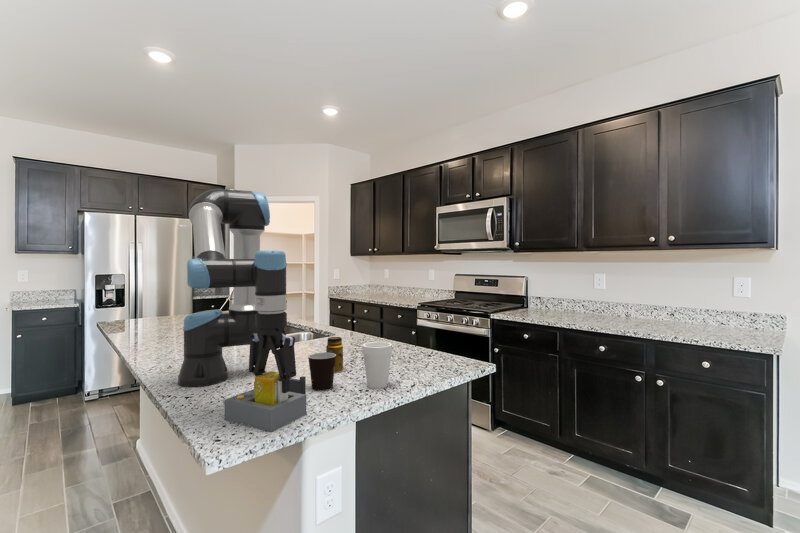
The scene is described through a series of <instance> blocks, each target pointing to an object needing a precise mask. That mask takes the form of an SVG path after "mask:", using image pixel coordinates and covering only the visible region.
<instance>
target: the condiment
mask: <svg viewBox="0 0 800 533" xmlns="http://www.w3.org/2000/svg"><path fill="white" fill-rule="evenodd" d="M342 339H343V338H342V337H341V336H330V337H328V338H327V339H326V342H327V345H326V352H325V353H334V354H336V360H335V370H334V374H335V373H337V374H338V373H342V372H346V371H348V369H346V368H344V346H343V343H342V342H343V341H342Z"/></svg>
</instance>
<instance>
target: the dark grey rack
mask: <svg viewBox="0 0 800 533" xmlns="http://www.w3.org/2000/svg"><path fill="white" fill-rule="evenodd" d="M306 378H307V377H306V376H303V375H302V376H299V379H297V378H293V377H292V378H290V387H289V388H290V390H289V392H294V393H300V394H305V395H307V393H306V392H307V391H306V390H307V389H306V388H307V387H306V386H307V385H306V380H307V379H306ZM253 389H255V380H254V381H253Z"/></svg>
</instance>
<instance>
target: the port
mask: <svg viewBox="0 0 800 533" xmlns="http://www.w3.org/2000/svg"><path fill="white" fill-rule="evenodd" d="M223 402H224V403H223V404H224V405H223V406H224V408H223V409H224V410H223V411H224V414H223V416H224V421H228V422H233V423H235V424H240V425H244V426H248V427H252V428H255V429H259V430H263V431H265V432H266V431H267V432H275V430H278V429H279V428H282V427H283V426H285V425H288V424H290V423H292V422H294V421H295V420H297V419H299V418H302V417H303V416H306V415H307V412H308V411H307V394H300V393H294V392H288V399H287V400H284V401H282V402H280V403H277V404H275V405H272V406H269V405H265V404H260V403H255V389H254V388H253V389H250V390H248V391H244V392H243V393H239V394H236V395H234V396H231V397H228V398H225V399H224V401H223Z"/></svg>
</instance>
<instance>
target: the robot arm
mask: <svg viewBox="0 0 800 533" xmlns="http://www.w3.org/2000/svg"><path fill="white" fill-rule="evenodd" d="M269 205H270V204H269V201H268V199H267V196H266V195H265V193H263V192H261V191H260V192H259V191H253V190H242V189H241V190H238V189H227V188H225V189H224V188H213V189H209V190H206V191H204V192H202V193H200V194H199V195H197V196H196V197H195V198H193V201H191V203H190V206H189V209H188V219H189V221H190V223H191V225H192V227H193V228H192V230H193V246H194V252H193V253H194V258H190V259H188V260H187V262H186V264H187V265H186V270H187V271H186V273H187V274H186V277H187V278H186V279H187V282H186V283H187V286H188V287H189V288H191V289H205V290H207V289H221V288H222V289H223V288H224V289H225V288H233V302H232V304H231V305H230V306H229V307H228V312H225V313H223V311H222V309H210V310H209V309H208V310H203V311H198V312H194V313H191V314H188V315H187V316H185V317H184V319H183V328H182V331H183V362H182V364H181V367H180V369H179V372H178V375H177V384H178V385H179V386H181V387H193V388H194V387H203V386H204V387H205V386H210V385H214V384H219V383H221V382H224V381H226V380H227V379H228V378H229V369H228V368H227V365H226V362H225V359H224V356H223V348H228V347H239V346H249V356H248V372H249V373H252V374H253V376H254V378H255V377H257V376H259V375H262V374H264V373H267V371H266V367H267V363H268V359H269V355H270V352H271V353H272V354H273V356H274V360H275V364H276V366H277V367H276V368H277V372H279V376H280V379H278V403H280V402H282V401H284V400H287V399H288V392H289V390H290V388H289V387H290V378H292V379H293V378H294V377H296V376H297V367H296V366H297V365H296V355H295V342H296V338H295V336H289V335H287V333H286V329H285V328H286V327H287V325H288V314H287V312H286V310H287V309H288V305H287V304H288V303H287V302H288V301H287V266H288V263H287V258H286V252H285V251H283V250H261V235H262V234H263V233H264V232H265V227H267V226H269V225H270V222H271V220H270V219H271V213H270V206H269ZM221 224H223V225H224V224H225V225H228V230H229V231H230V232H231V233H232V234H233V258H226V250H225V245H224V239H223V233H222V232H223V231H222V225H221ZM284 374H285V375H284Z"/></svg>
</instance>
